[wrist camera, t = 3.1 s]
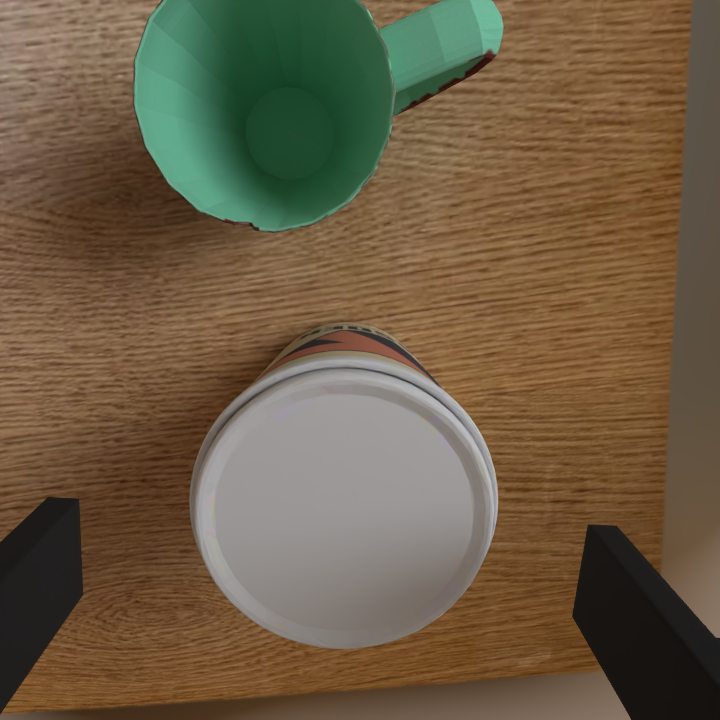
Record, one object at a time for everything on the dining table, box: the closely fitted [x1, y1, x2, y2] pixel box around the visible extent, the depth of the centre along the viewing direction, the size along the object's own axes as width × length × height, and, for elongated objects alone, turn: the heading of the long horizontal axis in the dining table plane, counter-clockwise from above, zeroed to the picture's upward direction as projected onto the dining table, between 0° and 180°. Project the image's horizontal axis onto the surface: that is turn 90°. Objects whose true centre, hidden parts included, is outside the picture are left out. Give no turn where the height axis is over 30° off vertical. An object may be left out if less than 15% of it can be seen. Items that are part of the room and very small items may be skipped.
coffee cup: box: [189, 322, 498, 649], centre depth 23 cm, size 9×9×12 cm
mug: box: [133, 0, 503, 233], centre depth 22 cm, size 12×8×8 cm, turn 111°
